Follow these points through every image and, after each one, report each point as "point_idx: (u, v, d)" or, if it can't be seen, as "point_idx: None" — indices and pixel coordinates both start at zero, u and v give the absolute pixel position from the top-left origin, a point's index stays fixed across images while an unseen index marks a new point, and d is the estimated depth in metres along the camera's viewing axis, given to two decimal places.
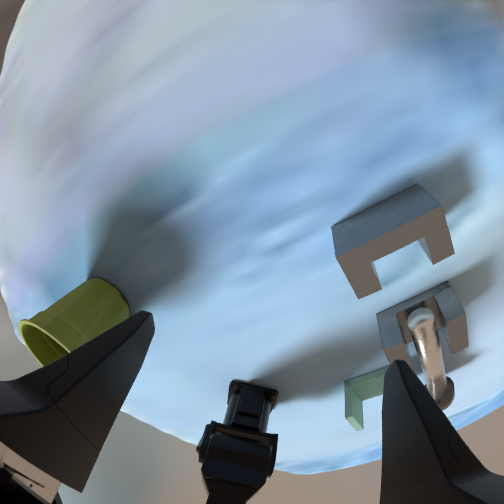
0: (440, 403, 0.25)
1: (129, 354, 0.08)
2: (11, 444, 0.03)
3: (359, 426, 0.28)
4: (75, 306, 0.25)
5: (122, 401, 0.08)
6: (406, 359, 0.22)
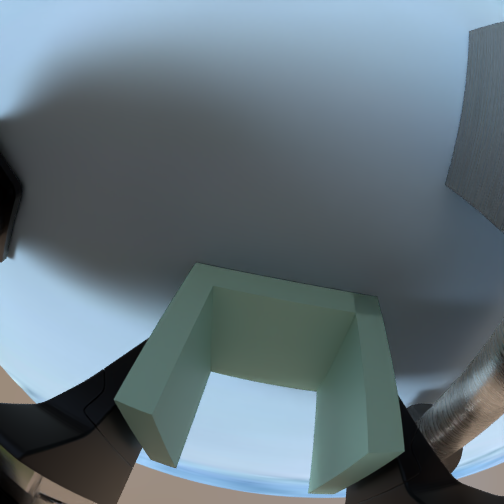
0: None
1: None
2: (51, 476, 0.03)
3: (165, 457, 0.06)
4: None
5: None
6: None
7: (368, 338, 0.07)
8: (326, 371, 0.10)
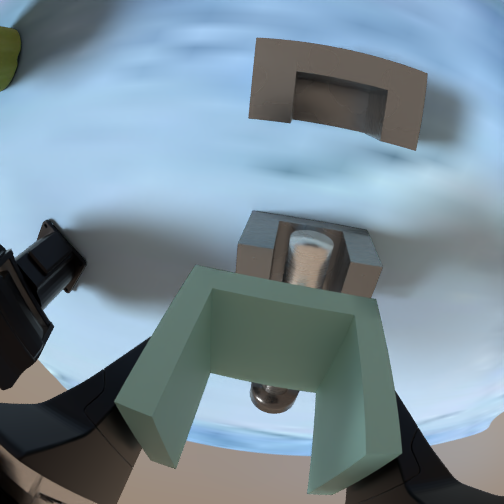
0: (272, 401, 0.22)
1: None
2: (51, 476, 0.03)
3: (165, 458, 0.06)
4: None
5: None
6: None
7: (366, 340, 0.07)
8: (325, 372, 0.10)
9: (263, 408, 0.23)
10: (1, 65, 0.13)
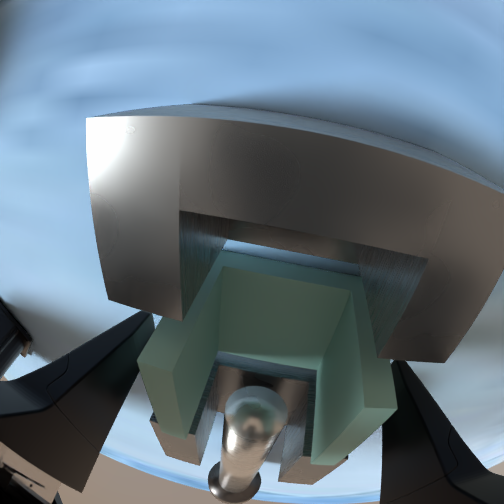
0: (227, 499, 0.16)
1: (129, 354, 0.08)
2: (11, 444, 0.03)
3: (177, 426, 0.08)
4: None
5: (122, 401, 0.08)
6: (191, 452, 0.10)
7: (362, 312, 0.08)
8: (325, 349, 0.11)
9: (220, 500, 0.17)
10: None
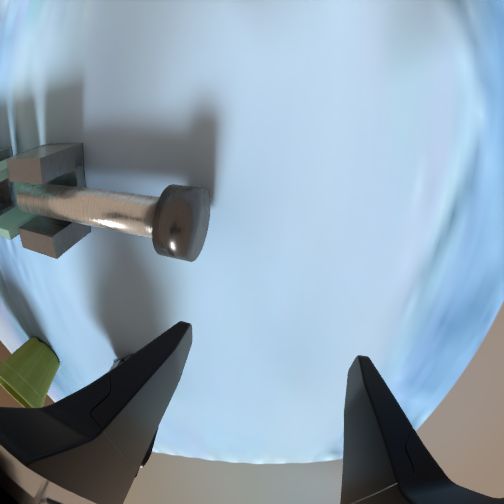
0: (153, 236, 0.15)
1: (171, 368, 0.08)
2: (58, 481, 0.03)
3: (3, 230, 0.18)
4: (10, 355, 0.32)
5: (161, 416, 0.08)
6: (35, 235, 0.18)
7: None
8: None
9: (176, 250, 0.15)
10: (34, 350, 0.34)
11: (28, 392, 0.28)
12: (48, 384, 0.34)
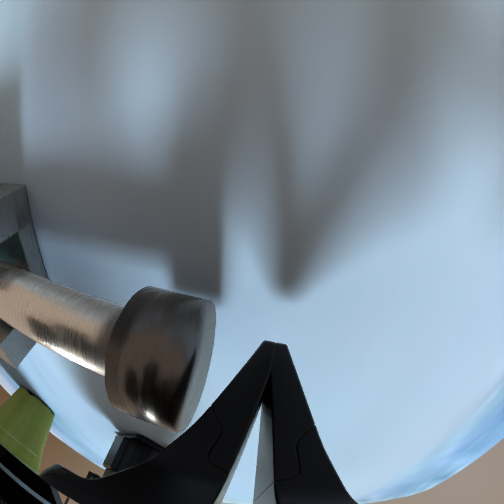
0: (114, 400, 0.07)
1: (265, 391, 0.08)
2: None
3: None
4: None
5: (247, 439, 0.08)
6: None
7: None
8: None
9: (161, 426, 0.07)
10: (24, 405, 0.26)
11: (22, 453, 0.20)
12: (44, 440, 0.25)
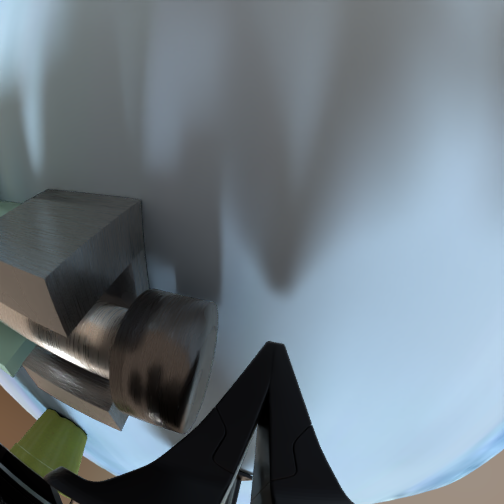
0: (118, 403, 0.07)
1: None
2: None
3: None
4: (26, 434, 0.22)
5: None
6: (63, 392, 0.09)
7: None
8: None
9: (165, 428, 0.07)
10: (56, 429, 0.25)
11: None
12: (79, 464, 0.25)
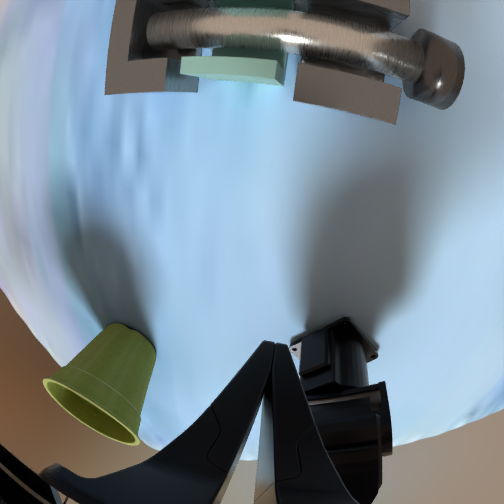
0: (429, 60, 0.09)
1: (264, 391, 0.08)
2: None
3: (250, 61, 0.11)
4: (79, 353, 0.24)
5: None
6: (353, 80, 0.11)
7: None
8: (268, 7, 0.12)
9: (453, 81, 0.09)
10: (125, 342, 0.27)
11: (125, 411, 0.21)
12: (145, 393, 0.27)
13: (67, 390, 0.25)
